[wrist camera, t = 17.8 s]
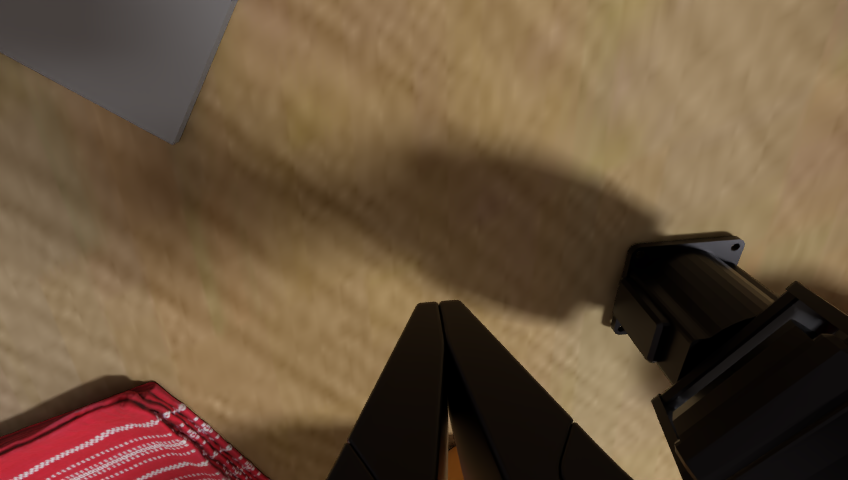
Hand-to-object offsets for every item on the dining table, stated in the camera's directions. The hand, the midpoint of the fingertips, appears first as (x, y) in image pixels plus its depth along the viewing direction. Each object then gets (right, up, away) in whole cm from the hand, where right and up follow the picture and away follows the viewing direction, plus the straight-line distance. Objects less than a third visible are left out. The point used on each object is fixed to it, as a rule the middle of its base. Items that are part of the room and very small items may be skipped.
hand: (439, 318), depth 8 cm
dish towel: (-21, -19, +25) cm, 38 cm away
